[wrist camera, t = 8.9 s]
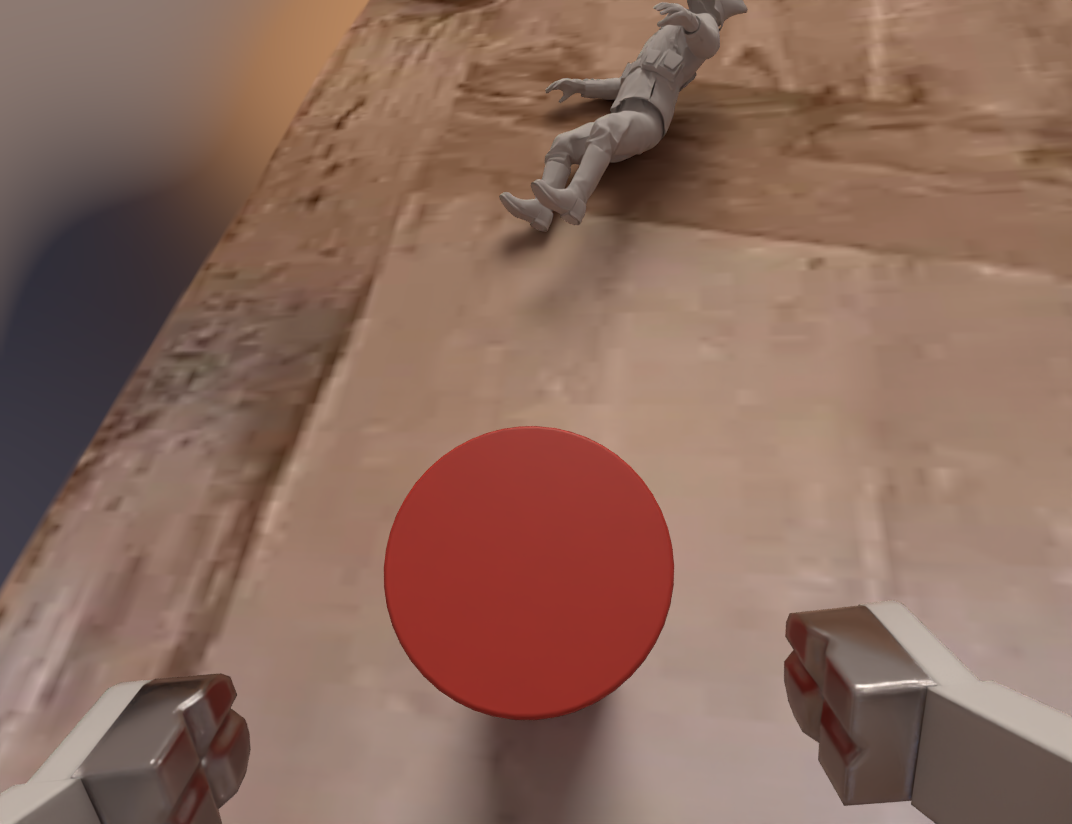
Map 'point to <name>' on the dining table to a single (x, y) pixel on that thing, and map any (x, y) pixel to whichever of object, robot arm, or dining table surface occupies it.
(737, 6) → the soldier figure
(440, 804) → the dining table surface
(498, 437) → the red cylinder
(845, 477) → the dining table surface
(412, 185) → the dining table surface
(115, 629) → the dining table surface
